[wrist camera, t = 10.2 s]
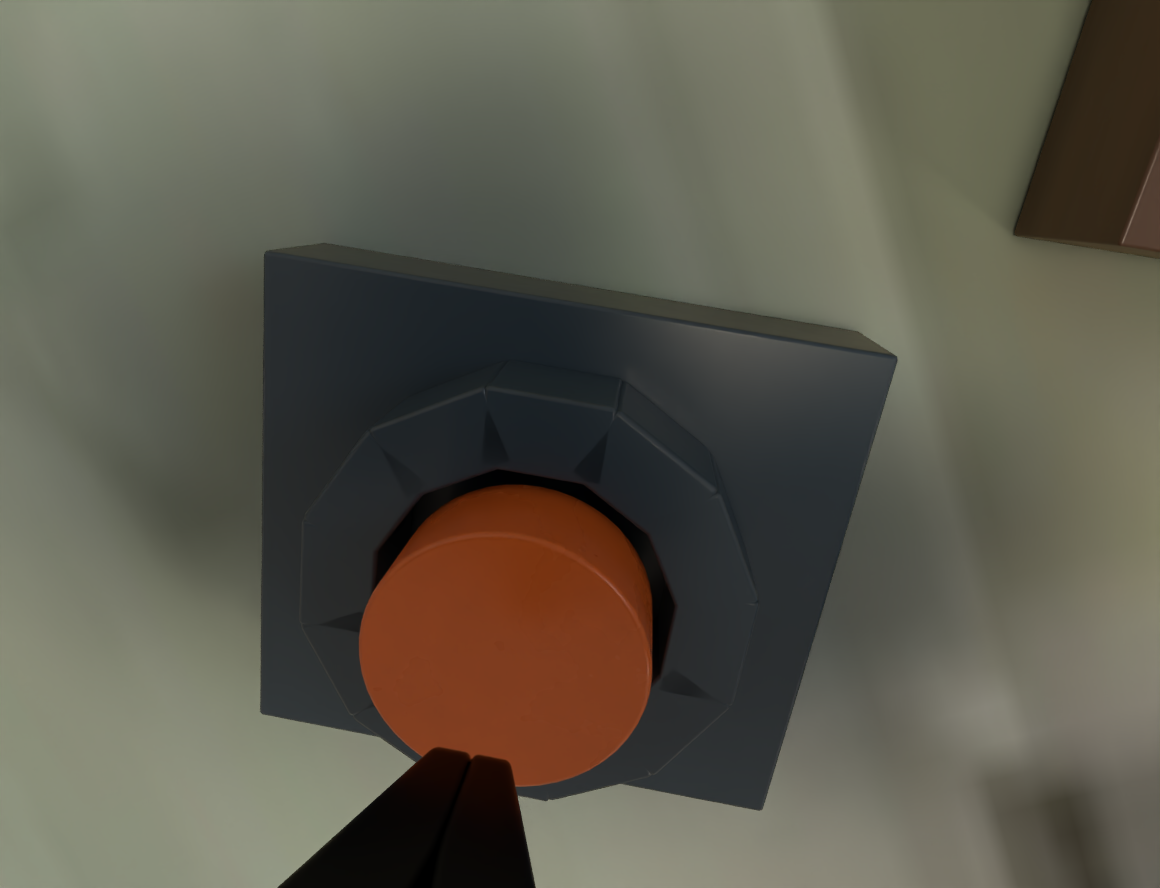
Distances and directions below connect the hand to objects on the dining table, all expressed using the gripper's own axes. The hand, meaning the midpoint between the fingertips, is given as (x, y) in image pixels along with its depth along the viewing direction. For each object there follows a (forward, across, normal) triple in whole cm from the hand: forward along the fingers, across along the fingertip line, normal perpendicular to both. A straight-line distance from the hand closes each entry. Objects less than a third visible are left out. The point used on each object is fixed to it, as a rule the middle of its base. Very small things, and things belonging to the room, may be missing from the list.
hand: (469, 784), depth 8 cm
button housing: (+7, 0, 0) cm, 7 cm away
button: (+4, 0, 0) cm, 4 cm away
